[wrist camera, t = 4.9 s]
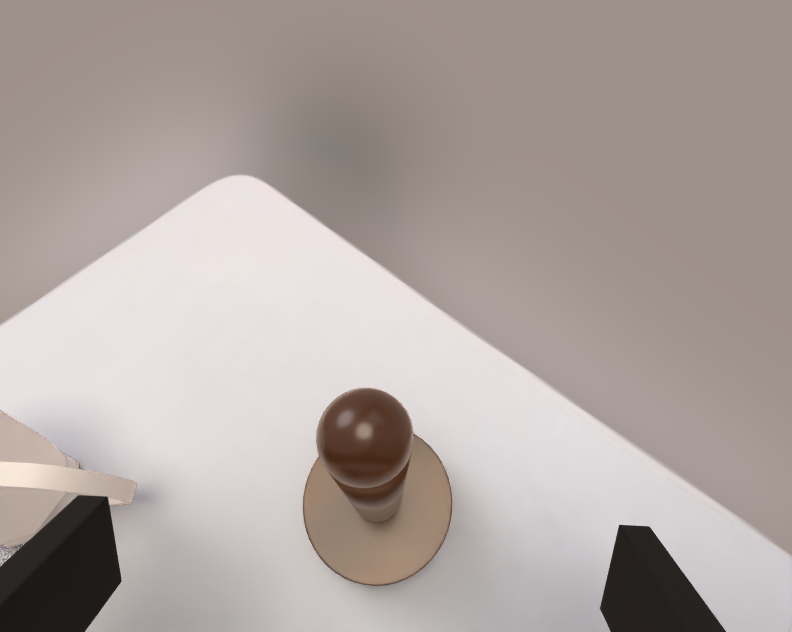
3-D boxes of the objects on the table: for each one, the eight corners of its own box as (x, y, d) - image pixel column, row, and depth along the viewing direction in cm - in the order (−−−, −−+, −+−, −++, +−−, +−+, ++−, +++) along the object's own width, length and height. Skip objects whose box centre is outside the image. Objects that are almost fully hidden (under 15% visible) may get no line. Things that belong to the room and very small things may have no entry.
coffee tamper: (471, 491, 21) (595, 397, 8) (389, 618, 18) (390, 752, 6) (370, 411, 23) (346, 234, 10) (283, 516, 20) (110, 452, 8)
